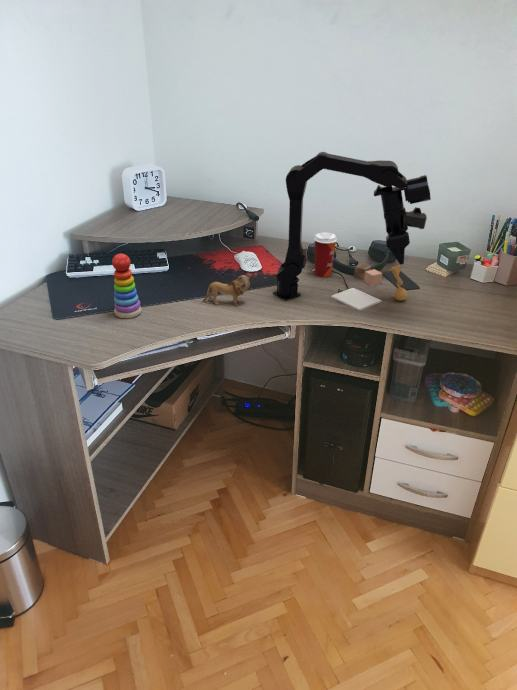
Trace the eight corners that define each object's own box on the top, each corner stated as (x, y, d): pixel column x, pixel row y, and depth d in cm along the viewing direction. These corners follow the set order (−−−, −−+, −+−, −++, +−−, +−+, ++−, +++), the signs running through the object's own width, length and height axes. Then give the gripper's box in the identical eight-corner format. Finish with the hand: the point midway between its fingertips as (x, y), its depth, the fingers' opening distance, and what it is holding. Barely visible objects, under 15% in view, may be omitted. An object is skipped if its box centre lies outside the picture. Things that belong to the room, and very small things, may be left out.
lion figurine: (249, 298, 172) (249, 272, 168) (249, 306, 168) (250, 279, 163) (202, 299, 172) (201, 272, 167) (201, 306, 167) (200, 279, 163)
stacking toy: (112, 309, 165) (104, 250, 155) (138, 305, 167) (132, 247, 158) (117, 321, 158) (109, 260, 149) (144, 316, 161) (138, 256, 152)
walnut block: (354, 277, 188) (355, 266, 186) (360, 274, 190) (361, 263, 188) (364, 280, 186) (365, 269, 184) (370, 277, 188) (371, 266, 186)
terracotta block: (363, 282, 184) (365, 271, 182) (373, 280, 186) (374, 269, 184) (371, 286, 181) (373, 275, 179) (380, 284, 183) (382, 273, 181)
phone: (400, 290, 178) (380, 272, 191) (400, 292, 179) (380, 274, 191) (421, 287, 180) (400, 270, 192) (420, 290, 180) (399, 272, 193)
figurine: (409, 305, 169) (415, 269, 163) (390, 306, 169) (395, 269, 163) (402, 294, 176) (408, 259, 170) (384, 294, 176) (388, 259, 170)
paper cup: (335, 279, 186) (338, 239, 179) (312, 278, 186) (315, 239, 179) (332, 270, 193) (336, 231, 186) (311, 269, 193) (313, 231, 186)
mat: (331, 297, 174) (331, 295, 173) (352, 289, 179) (353, 287, 179) (359, 310, 166) (359, 309, 165) (381, 302, 171) (381, 300, 171)
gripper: (424, 210, 145) (432, 265, 152) (420, 192, 161) (427, 242, 168) (382, 219, 148) (391, 272, 155) (382, 200, 164) (390, 249, 171)
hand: (401, 258), depth 162 cm, fingers open, 9 cm apart
